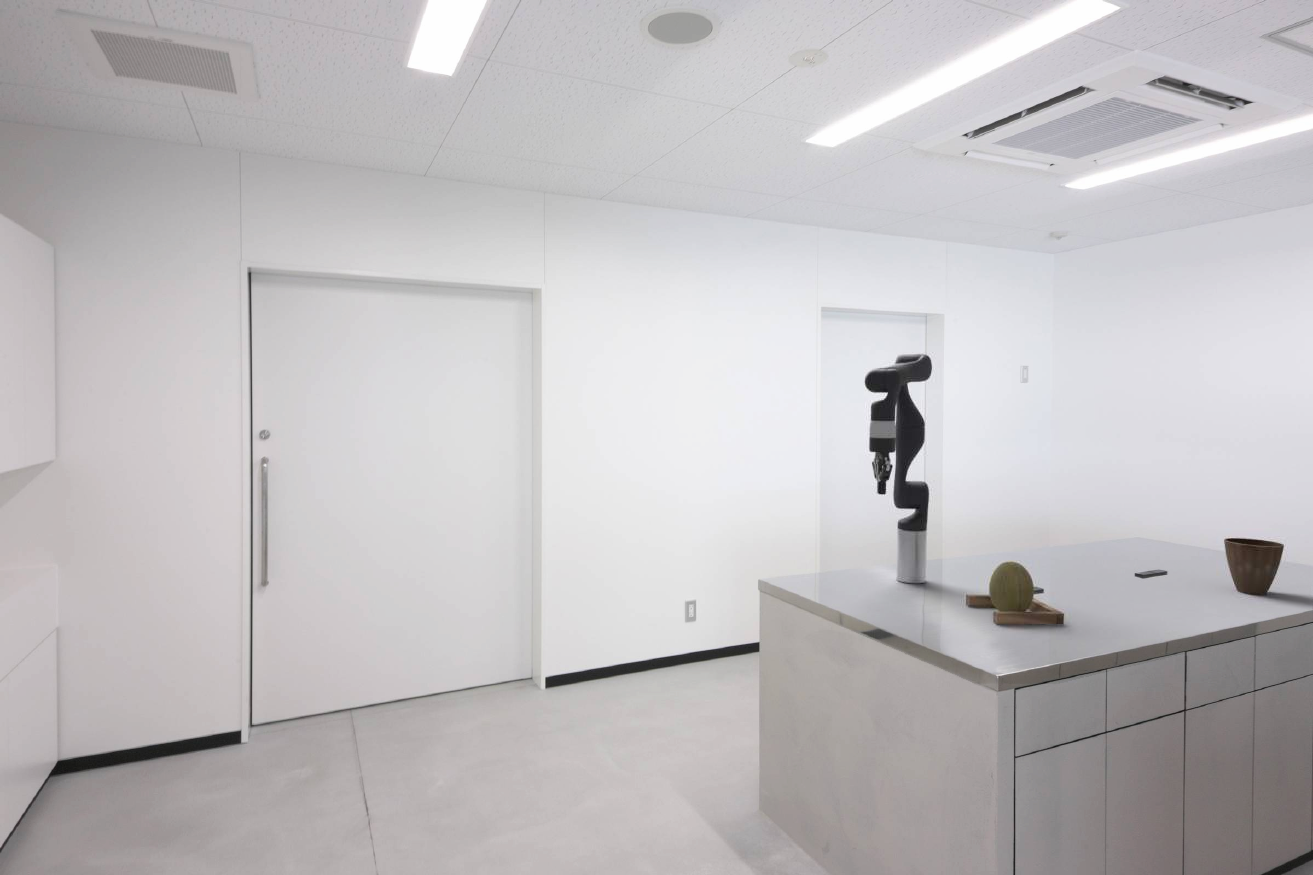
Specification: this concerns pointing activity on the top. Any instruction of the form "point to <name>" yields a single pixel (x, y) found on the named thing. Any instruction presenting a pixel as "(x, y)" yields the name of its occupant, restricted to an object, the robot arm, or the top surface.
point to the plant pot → (1253, 563)
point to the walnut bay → (1037, 616)
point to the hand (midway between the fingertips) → (881, 494)
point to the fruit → (1011, 587)
